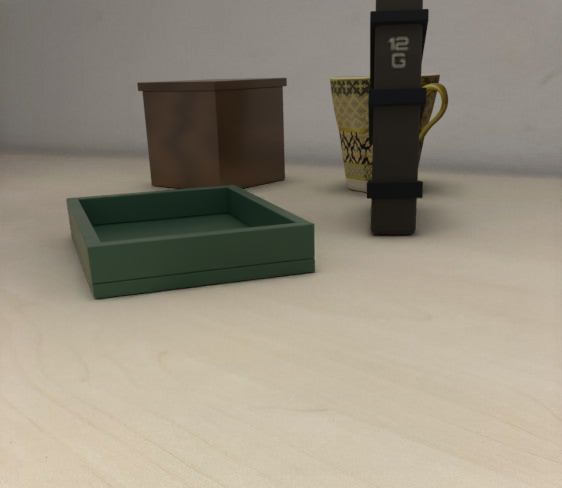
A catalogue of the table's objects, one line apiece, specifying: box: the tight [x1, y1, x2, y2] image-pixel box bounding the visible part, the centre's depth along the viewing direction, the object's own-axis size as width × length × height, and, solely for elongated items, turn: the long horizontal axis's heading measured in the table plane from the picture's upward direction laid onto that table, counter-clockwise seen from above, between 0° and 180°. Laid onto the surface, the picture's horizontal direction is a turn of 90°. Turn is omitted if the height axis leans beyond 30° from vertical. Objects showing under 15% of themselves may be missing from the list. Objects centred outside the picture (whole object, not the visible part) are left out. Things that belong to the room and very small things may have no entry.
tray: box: [65, 185, 316, 300], centre depth 46 cm, size 17×13×3 cm
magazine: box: [366, 0, 430, 236], centre depth 52 cm, size 4×13×15 cm, turn 173°
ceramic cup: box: [329, 73, 449, 193], centre depth 65 cm, size 13×10×10 cm
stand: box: [136, 77, 288, 189], centre depth 72 cm, size 11×11×10 cm
